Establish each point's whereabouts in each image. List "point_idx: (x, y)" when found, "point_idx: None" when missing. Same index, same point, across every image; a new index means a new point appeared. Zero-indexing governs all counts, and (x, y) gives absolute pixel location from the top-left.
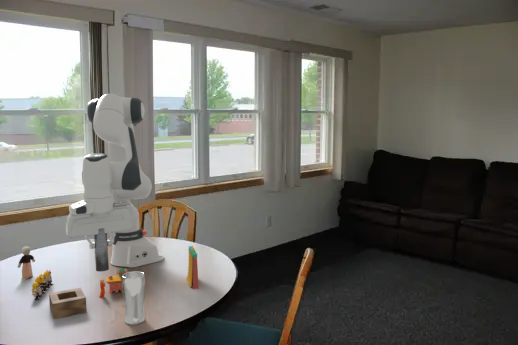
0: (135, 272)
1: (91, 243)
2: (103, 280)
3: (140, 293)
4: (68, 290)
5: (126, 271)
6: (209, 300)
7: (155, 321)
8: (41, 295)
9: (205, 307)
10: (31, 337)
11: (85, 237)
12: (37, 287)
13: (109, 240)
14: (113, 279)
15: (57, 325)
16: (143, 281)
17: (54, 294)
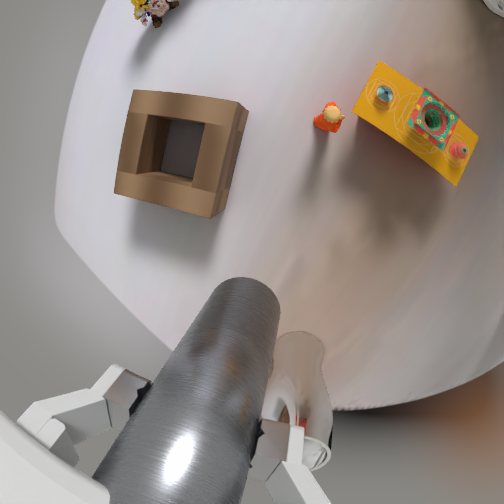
0: (319, 439)
1: (103, 425)
2: (336, 120)
3: None
4: (190, 101)
5: (446, 136)
6: (472, 368)
7: (328, 383)
8: (175, 3)
9: (440, 390)
10: (87, 250)
11: (34, 409)
12: (143, 6)
13: (266, 474)
14: (388, 108)
15: (137, 233)
16: (308, 456)
17: (141, 111)
